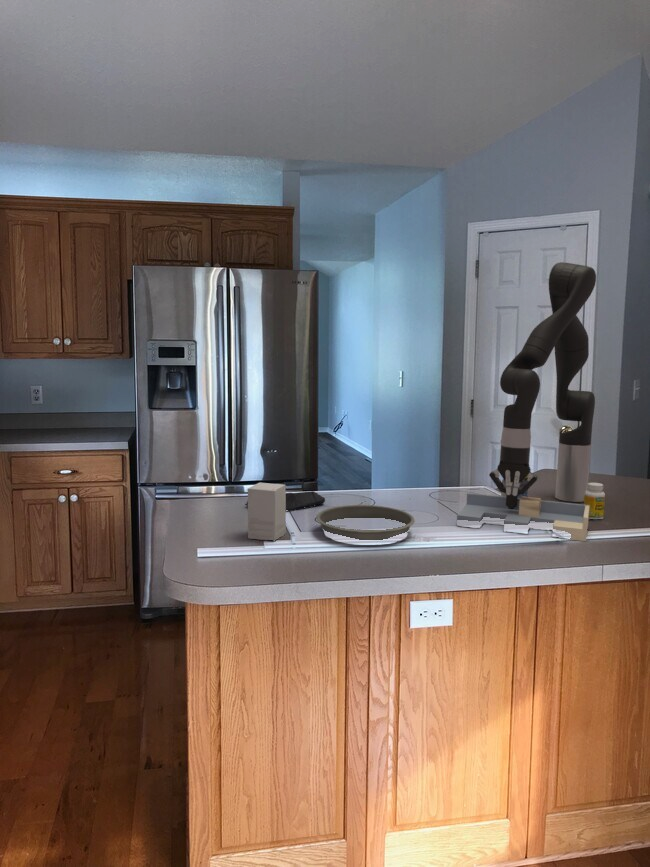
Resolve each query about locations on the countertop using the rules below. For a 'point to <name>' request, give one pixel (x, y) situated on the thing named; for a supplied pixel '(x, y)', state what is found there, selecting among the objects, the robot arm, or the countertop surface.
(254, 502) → the supplement box
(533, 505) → the maple block
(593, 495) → the supplement bottle
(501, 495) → the label tape box
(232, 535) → the countertop surface
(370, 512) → the cake pan
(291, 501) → the dark slate chunk
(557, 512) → the tray
